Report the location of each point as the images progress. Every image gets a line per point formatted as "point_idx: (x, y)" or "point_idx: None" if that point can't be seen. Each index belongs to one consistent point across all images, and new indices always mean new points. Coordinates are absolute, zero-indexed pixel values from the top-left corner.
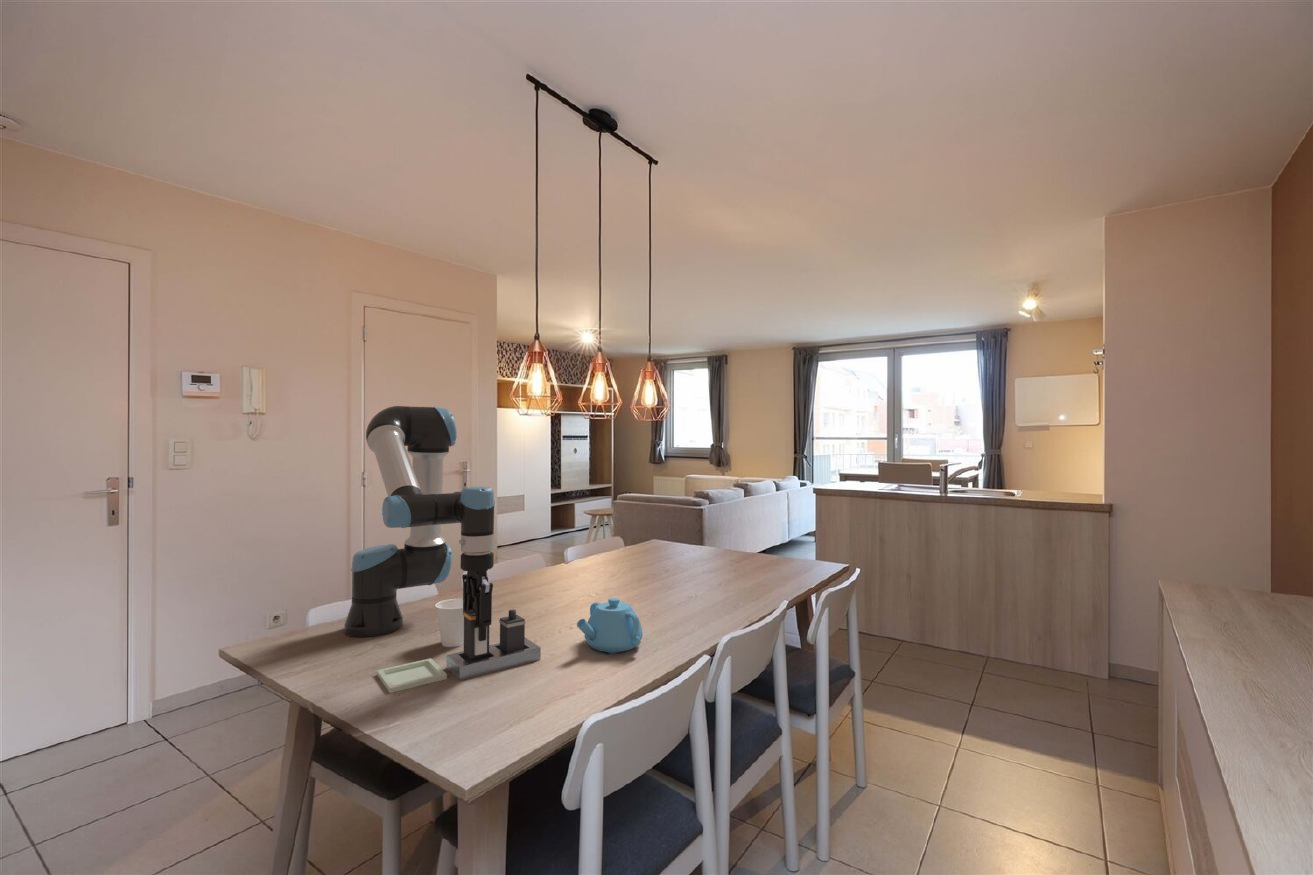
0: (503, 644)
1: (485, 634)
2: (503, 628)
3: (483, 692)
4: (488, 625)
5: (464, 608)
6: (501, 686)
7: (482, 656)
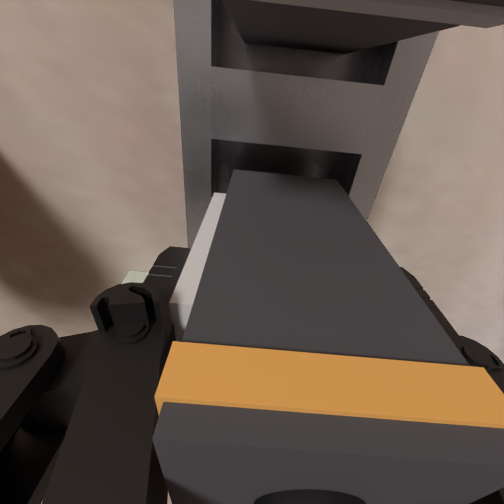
0: (308, 37)
1: (425, 300)
2: (334, 12)
3: (448, 250)
4: (405, 288)
5: (46, 481)
6: (477, 190)
7: (217, 141)
